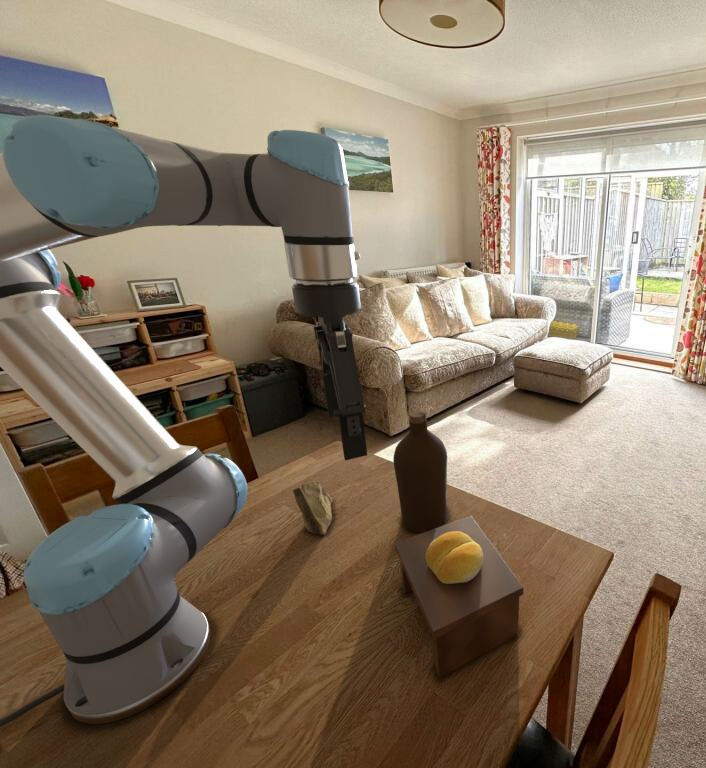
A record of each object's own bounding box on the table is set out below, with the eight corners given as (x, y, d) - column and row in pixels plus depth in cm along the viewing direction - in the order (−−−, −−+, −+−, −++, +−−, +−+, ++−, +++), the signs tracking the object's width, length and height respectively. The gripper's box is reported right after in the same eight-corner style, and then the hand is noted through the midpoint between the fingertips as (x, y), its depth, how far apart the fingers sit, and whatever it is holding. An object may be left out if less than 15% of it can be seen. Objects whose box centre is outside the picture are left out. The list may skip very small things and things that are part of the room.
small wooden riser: (436, 682, 56) (433, 631, 52) (399, 587, 70) (394, 543, 67) (521, 634, 63) (523, 587, 59) (471, 557, 77) (471, 515, 73)
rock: (314, 487, 92) (277, 509, 83) (331, 464, 89) (295, 484, 80) (346, 521, 92) (313, 547, 82) (365, 499, 88) (332, 523, 79)
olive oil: (410, 542, 80) (400, 431, 71) (392, 512, 88) (381, 409, 79) (458, 522, 86) (454, 417, 77) (437, 496, 94) (431, 398, 85)
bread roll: (449, 597, 57) (448, 576, 56) (419, 559, 64) (417, 539, 62) (495, 567, 62) (495, 547, 61) (462, 535, 69) (461, 516, 67)
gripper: (382, 295, 41) (397, 471, 49) (340, 268, 61) (356, 397, 69) (300, 299, 37) (331, 488, 45) (284, 270, 57) (307, 405, 65)
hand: (346, 433), depth 57 cm, fingers open, 13 cm apart
